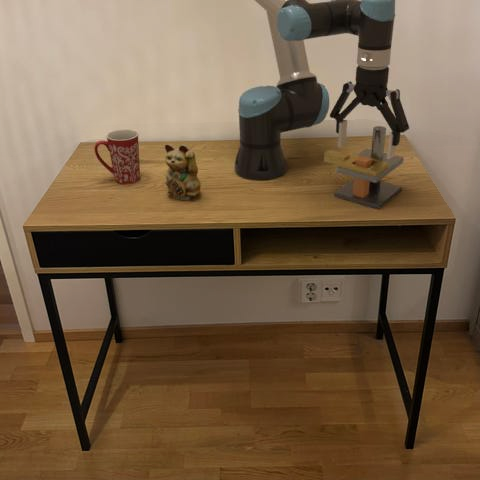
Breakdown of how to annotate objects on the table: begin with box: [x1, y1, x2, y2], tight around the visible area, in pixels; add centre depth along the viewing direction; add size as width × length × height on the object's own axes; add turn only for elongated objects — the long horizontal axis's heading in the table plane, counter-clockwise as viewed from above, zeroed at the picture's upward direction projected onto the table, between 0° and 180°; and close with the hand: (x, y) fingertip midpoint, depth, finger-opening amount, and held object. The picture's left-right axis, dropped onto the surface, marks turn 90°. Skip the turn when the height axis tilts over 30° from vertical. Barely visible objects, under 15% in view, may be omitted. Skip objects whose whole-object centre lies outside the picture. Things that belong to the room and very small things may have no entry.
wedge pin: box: [353, 156, 372, 198], centre depth 152 cm, size 3×3×10 cm
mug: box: [94, 128, 141, 185], centre depth 166 cm, size 13×9×14 cm
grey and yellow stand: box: [323, 125, 405, 210], centre depth 154 cm, size 18×16×17 cm
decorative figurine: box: [164, 143, 201, 201], centre depth 156 cm, size 10×8×15 cm
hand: (365, 151), depth 148 cm, fingers open, 13 cm apart
